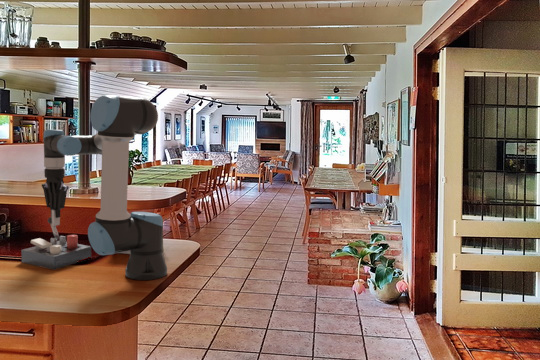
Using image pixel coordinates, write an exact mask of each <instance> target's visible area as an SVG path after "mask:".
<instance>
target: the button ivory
mask: <svg viewBox="0 0 540 360" xmlns="http://www.w3.org/2000/svg"><path fill="white" fill-rule="evenodd" d="M50 253H51V254H58V253H61V245H52V246H50Z"/></svg>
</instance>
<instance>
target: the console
mask: <svg viewBox="0 0 540 360" xmlns="http://www.w3.org/2000/svg"><path fill="white" fill-rule="evenodd" d="M59 238H60V239H59V240H58V239H56V238H55V237H51V238H50V243H52V245H61V253H58V254H51V253H50V247H47V248H41V247H38V246H36V245H34V246H32V247H28V248H24V249H21V251H20V252H21V263H23V264H27V265H32V266H36V267H40V268H44V269H49V270H52V271H55V270H57V269H59V270H60V269H61V268H65V267H68V266H71V265H74V264H77V261H79V260H82V259H85V258H88V257H91V258H92V246H91V245H87V244H86V245H85V244H81V243H80V244H79V243H78V248H76V249H67V236H66V235H65V236H64V235H59Z"/></svg>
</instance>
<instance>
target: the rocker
mask: <svg viewBox="0 0 540 360" xmlns="http://www.w3.org/2000/svg"><path fill="white" fill-rule="evenodd" d="M30 244H31V245H34V246H38V247H41V248H47V247H50V246H52V243H51V241H50V242H49V241H47V240H45V239H43V238H41V237H39V238H34V239H31V240H30Z"/></svg>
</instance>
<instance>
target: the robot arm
mask: <svg viewBox="0 0 540 360" xmlns="http://www.w3.org/2000/svg"><path fill="white" fill-rule="evenodd" d="M158 120H159V113H158V110H157V108H156V106H155V105H154V104H153V103H152V102H151V101H150V100H149V99H147V98H145V97H144V98H143V97H135V96H123V95H115V94H114V95H113V94H112V95H111V94H110V95H109V94H108V95H101V96H98V98H96V100H95V101H94V103H93V104H92V107H91V109H90V123H91V127H92V128H93V130H95V131H97V133H96V134H93V135H65V131H64V130H63V129H45V130H44V131H43V139H42V140H43V167H44V170H43V171H44V178H45V179H46V180H45V183H42V184H41V187H42V190H43V194H44V199H45V200H44V201H45V205H46V208H49V209H50V217H52V226H56V227H57V226H60V225H61V210H62V209H65V205H66V201H67V200H66V199H67V194H68V193H67V192H68V190H69V185H65V182H64V178H65V177H66V171H65V170H66V169H65V166H66V165H65V156H70V157H71V156H76V155H77V156H78V155H79V156H80V155H101V170H100V171H101V173H100V174H101V175H100V176H101V177H100V210H99V211H98V212H97V213H96V214H95V221H93V222H91V223H90V224H89V226H88V228H87V237H88V241H89V244H90V246H91V249H92V250H93V251H94V252H95V253H96V254H98V255H99V256H108V255H114V254H121V253H120V252H125V251H130V254H129V258H128V260H127V264H126V267H125V277H126V278H127V279H131V280H136V281H151V280H157V279H161V278H164V277H165V276H167V275H168V266H167V264H166V259H165V257H164V254H163V251H164V218H163V217H162V215H160V214H158V213H154V212H148V211H132V212H129V211H128V187H129V186H128V185H129V184H128V183H129V155H130V154H129V153H130V151H129V150H130V142H131V141H132V140H133V139H134V137H135V136H136V135H144V134H147V133H149V132H150V131H152V130H153V129H154V128H155V127H156V126H157V124H158Z"/></svg>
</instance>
